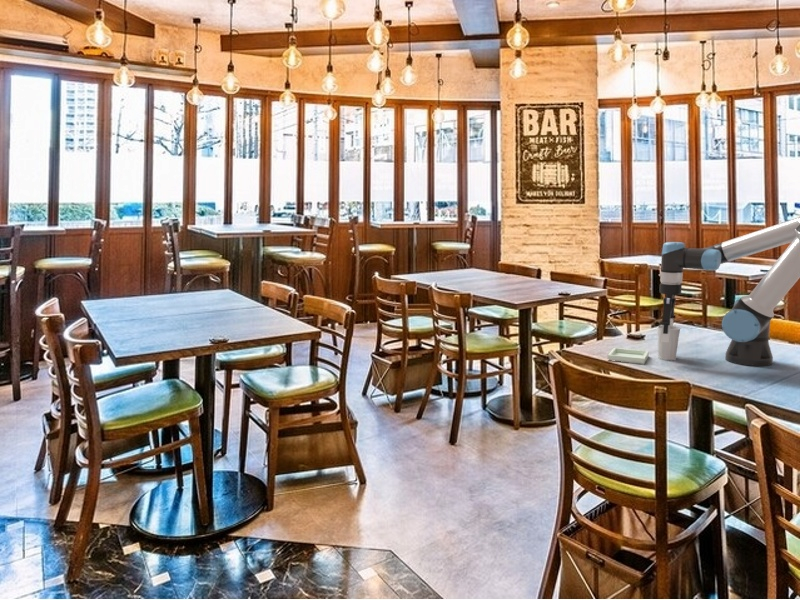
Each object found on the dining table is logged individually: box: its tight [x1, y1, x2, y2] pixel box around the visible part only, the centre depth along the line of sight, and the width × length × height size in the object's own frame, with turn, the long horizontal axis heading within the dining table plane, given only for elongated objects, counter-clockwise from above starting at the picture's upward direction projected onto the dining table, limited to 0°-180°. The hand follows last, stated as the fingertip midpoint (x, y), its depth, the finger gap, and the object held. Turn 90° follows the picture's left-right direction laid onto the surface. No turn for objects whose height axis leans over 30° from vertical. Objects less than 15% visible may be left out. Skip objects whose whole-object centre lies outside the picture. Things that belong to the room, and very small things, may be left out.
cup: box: [656, 325, 681, 361], centre depth 220 cm, size 8×8×12 cm
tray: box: [607, 347, 650, 365], centre depth 222 cm, size 13×13×2 cm
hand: (666, 338), depth 220 cm, fingers open, 13 cm apart
